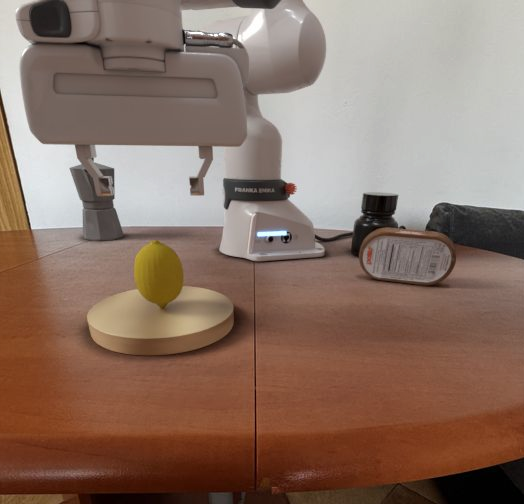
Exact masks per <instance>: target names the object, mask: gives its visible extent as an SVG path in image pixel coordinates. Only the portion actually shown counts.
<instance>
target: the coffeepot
mask: <svg viewBox="0 0 524 504" xmlns="http://www.w3.org/2000/svg"><path fill="white" fill-rule="evenodd" d="M91 159H92V160H93V162H94V163H95V164H96V166H97V167H98V169H99V170H100V172H101V173H102V174H103V176H112V182H113V184H112V187H113V188H114V195H113V196H97V194H96V190H95V185H94V179H93V177H91V176H90V174H89V173H88V172H87V170H86V169H85V168H84V166H83V165H82V164H81V163H80V164H77V165H74V166H71V167H69V171H70V174H71V177H72V180H73V184H74V186H75V189H76V192H77V195H78V198H79V200H80V201H81V203H82V208H83V209H82V211H81V212H82V237H83V238H84V240H87V241H94V242H95V241H96V242H104V241H114V240H119V239H122V238H123V237H124V236H125V234H124V231H123V228H122V225H121V221H120V219H119V214H118V213H117V209H116V208H115V205H114V200H115V198H116V197H115V194H116V191H115V189H116V188H115V167H111V166H108V165H104V164H101V163H98V162H95V161H94V160H95V158H91Z"/></svg>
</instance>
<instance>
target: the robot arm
mask: <svg viewBox="0 0 524 504" xmlns="http://www.w3.org/2000/svg"><path fill="white" fill-rule="evenodd" d="M227 8H228V9H229V8H241V9H250V11H249V14H248V15H243V16H238V17H231V18H224V19H219V20H218V19H217V20H215V21H213V22H211V23H209V24H207V25H205V26H203V27H202V28H199V29H197V30H189V29H186V30H185V29H184V28H183V11H191V10H192V11H202V10H203V11H204V10H217V9H227ZM14 14H15V15H14V16H15V21H16V24H17V29H18V31H19V33H20V35H21V37H23V38H24V39H25V40H26V41H27V42H28V43H30V44H29V45H27V46H26V47H25V48H24V49H23V51H22V53H21V55H20V58H19V67H18V68H19V79H20V89H21V95H22V101H23V107H24V111H25V117H26V122H27V125H28V129H29V131H30V133H31V134H32V135H33V136H34V137H35V138H36V140H37V141H38V142H40V144H42V145H58V146H59V145H62V146H64V145H65V146H74V150H75V153H76V158H77V160H78V161H79V162H80V164H82V165H83V166H84V168H85V169H86V170H87V172H88V173H89V174H90V176H91V177H93V179H94V185H95V190H96V194H97V196H113V195H114V188H113V187H112V184H113V182H112V176H103V174H102V173H101V172H100V170H99V169H98V167H97V166H96V164H95V163H96V162H95V161H94V162H95V163H94V162H93V160H92V159H91V158H94V159H96V158H97V157H98V156H97V150H96V146H149V147H151V146H152V147H157V146H161V147H198V148H197V149H198V158H199V159H200V160H203V162H202V164H201V166H200V168H199V170H198V173H197V175H195V176H194V175H192V176H191V175H190V176H188V181H189V186H190V187H189V194H190V196H197V197H198V196H205V183H204V178H205V177H206V175H207V173H208V171H209V169H210V166H211V165H212V162H213V160H214V154H213V153H214V151H213V150H214V148H213V147H218V148H219V147H220V148H222V147H223V156H224V157H223V158H224V178H223V179H222V205H223V208H224V217H223V228H222V234H221V240H220V245H219V248H218V251H219V252H220V253H222V254H223V255H226V256H230V257H236V258H243V259H246V260H250V261H253V262H269V261H282V260H296V259H308V258H309V259H310V258H321V257H322V258H323V257H324V256H325V254H326V249H325V247H324V246H323V245H322V244H321V243H319V242H318V241H320V242H325V243H328V242H333V241H336V240H338V239H341V238H347V237H351V236H353V231H350V232H344V233H341V234H337V235H335V236H332V237H321V236H319V235H317V234H316V232H315V227H314V223H313V221H312V220H311V219H310V217H308V215H306V214H305V213H304V212H303V211H302V210H301V209H300V208H299V207H298V206H296V205H295V204H294V203H293V202H292V201H291V200H290V199H289V198H290V197H291V195H295V194H296V193H297V190H298V188H297V185H296V184H295V183H293V182H286V181H285V180H283V179H282V160H283V159H282V158H283V157H282V156H283V137H282V134H281V132H280V130H279V129H278V128H277V126H276V125H275V124H274V123H272V122H271V121H270V120H268V119H267V118H265V117H264V116H263V114H262V112H261V109H260V106H259V95H277V94H290V93H293V92H296V91H300V90H302V89H305V88H308V87H311V86H313V85H314V84H315V83H316V82H317V80H318V79H319V77H320V76H321V73H322V71H323V69H324V65H325V62H326V57H327V38H326V34H325V31H324V28H323V25H322V23H321V21H320V20H319V18H318V17H317V15H315V14H314V12H313V11H312V10H311V9H310V8H309V7H308V6H307V5H306V3H305V1H304V0H31V1H27V2H25V3H23V4H21V5H19V6H18V7H17V8H15V13H14ZM398 229H407V228H406V226H405V225H400V226H398ZM316 240H317V241H316Z"/></svg>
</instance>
